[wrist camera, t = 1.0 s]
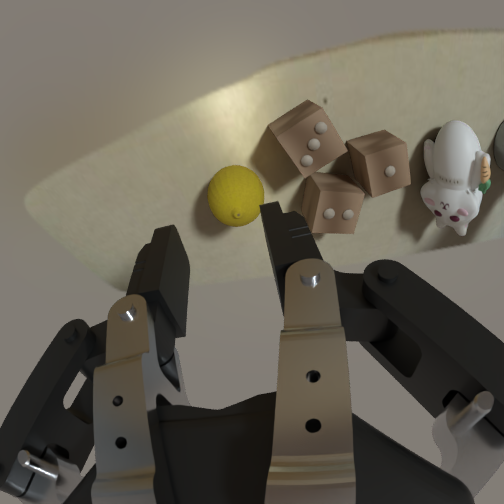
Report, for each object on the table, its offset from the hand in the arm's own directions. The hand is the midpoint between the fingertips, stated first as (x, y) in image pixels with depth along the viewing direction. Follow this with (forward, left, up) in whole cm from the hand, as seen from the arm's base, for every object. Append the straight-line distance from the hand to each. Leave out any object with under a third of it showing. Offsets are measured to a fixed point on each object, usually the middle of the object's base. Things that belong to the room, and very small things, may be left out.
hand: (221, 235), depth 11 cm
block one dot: (-16, +7, -21) cm, 28 cm away
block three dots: (-8, +3, -21) cm, 23 cm away
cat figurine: (-27, +10, -21) cm, 36 cm away
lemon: (0, +7, -21) cm, 22 cm away
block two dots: (-10, +11, -21) cm, 26 cm away
